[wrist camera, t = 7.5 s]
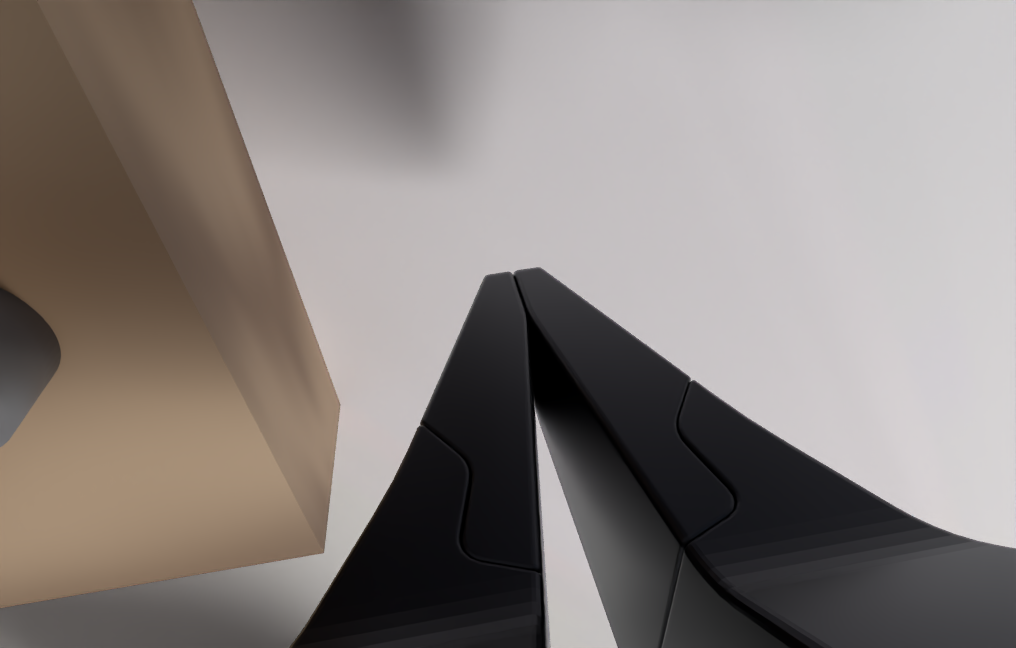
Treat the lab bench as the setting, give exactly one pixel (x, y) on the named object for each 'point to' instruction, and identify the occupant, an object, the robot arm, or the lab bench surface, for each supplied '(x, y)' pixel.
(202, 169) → the door panel
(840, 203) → the lab bench surface
